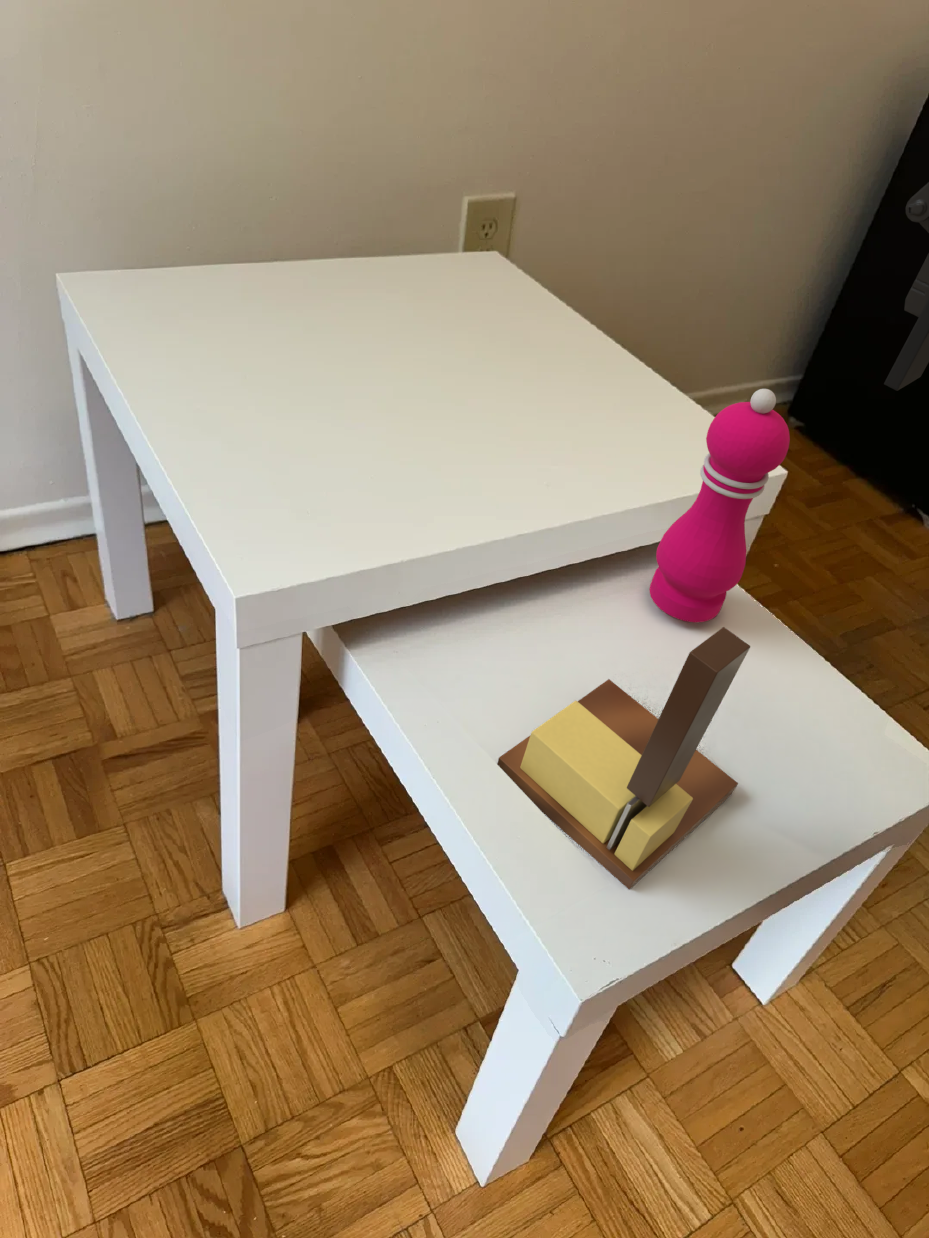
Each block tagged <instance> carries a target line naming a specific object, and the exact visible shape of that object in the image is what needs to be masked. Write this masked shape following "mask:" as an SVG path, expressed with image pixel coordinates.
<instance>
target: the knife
mask: <svg viewBox="0 0 929 1238" xmlns="http://www.w3.org/2000/svg"><path fill="white" fill-rule="evenodd" d="M750 649H751V645H750V644H748V643H747V642H745V641H744V640H743V639H742V638H740V637H739V636H737V635H735V634H734V632H732V631H731V630H729V629H728V628H726V627H725V626H723V627H721V628H720V629H719V630H717V631H716V632H715V633H713V634H712V635H711V636H709V637H708V638H707V639H705V640H704V641H703V642H701V643H700V644H698V645H697V646H696V647H695V648H693V649H692V650H690V651H689V653H688V655H687V657H686V659H685V662H684V664H683V665H682V668H681V670H680V672H679V674H678V677H677V678H676V680H675V683H674V685H673V687H672V689H671V691H670V693H669V696H668V697H667V700H666V702H665V704H664V706H663V709H662V711H661V713H660V714H659V717H658V721H657V723H656V726H655V728H654V730H653V732H652V734H651V736H650V738H649V741H648V743H647V745H646V747H645V749H644V751H643V753H642V755H641V758H640V760H639V762H638V764H637V766H636V768H635V770H634V773H633V775H632V777H631V779H630V781H629V783H628V785H627V789H628V790H629V791H631V792H632V793H633V794H634V795H635V797H634V798H633V799H632V800H631V801H629V802H628V803H627V805H626V807H625V809H624V811H623V814H622V816H621V818H620V820H619V822H618V824H617V826H616V828H615V830H614V832H613V834H612V837H611V839H610V841H609V843H608V845H607V847H606V848H607V849H608V850H611V849H612V848H613V847H614V846H615V845H617V844H618V843H619V842H620V841H621V839H622V837H623V835H624V833H625V831H626V829H627V827H628V825H629V823H630V821H631V819H633V818H634V817H635V816H636V815H637V814H638V813H640V812H641V811H642V810H643V809H644V808H645V807H646V806H648V807H650V806H651V805H652V804H653V803H655V802H656V801H657V800H658V799H659V798H660V797H661V796H662V795H664V794H665V793H666V792H667V791H668V790H669V789H670V788H672V787H673V786H674V785H675V784H676V783H677V782H678V781H680V779H681V777H682V775H683V773H684V771H685V769H686V767H687V766H688V764H689V762H690V760H691V758H692V756H693V754H694V752H695V750H698V747H699V745H700V743H701V742H702V741H701V740H702V739H703V737H704V736H705V733H706V731H707V730H708V728H709V727H710V724H711V722H712V720H713V719H714V717H715V714H716V713H717V711H718V709H719V707H720V706H721V703H722V701H723V700H724V698H725V696H726V694H727V692H728V690H729V688H730V686H731V685H732V683H733V680H734V679H735V677H736V675H737V673H738V671H739V669H740V667H741V666H742V664H743V662H744V660H745V658H746V656H747V654H748V652H749V651H750Z"/></svg>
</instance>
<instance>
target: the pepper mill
mask: <svg viewBox="0 0 929 1238" xmlns="http://www.w3.org/2000/svg"><path fill="white" fill-rule="evenodd" d="M776 403H777V398H776V395H775V393H774V392H773V390H771V389H768V388H760V389H759V388H758V389H757V390H756V391H754V392H753V394H752V395H751V398H750V401H739V402H736V403H732V404H729V405H728V406H726V407H724V408H723V409H721V410H720V411H719V412H718V413H717V414H716V416H715V417H714V418H713V420H711V422H710V424H709V427H708V429H707V433H706V437H705V441H706V448H707V451H708V454H706V455H705V457H704V459H703V465H702V466H701V467H700V472H699V474H700V477H701V480H702V482H701V487H700V490H699V491H698V493H697V496H696V499H695V501H694V502H693V503H692V505H691V506H690V508H688V509H687V511H685V512H684V513H683V514H682V515H681V516H680V517H679V518H677V519H676V520H675V521H674V522H673V523H672V524H671V525H670V526H669V527H668V529H667V530H666V531H665V532H664V534H663V535H662V537H661V539H660V542H659V543H658V546H657V548H656V553H655V555H656V556H655V558H656V563H657V566H658V567H657V568H656V570H655V571H654V573H653V577H652V579H651V582H650V585H649V595H650V598H651V600H652V602H653V603H654V604H655V605H656V606H657V608H658V609H659V610H660V611H662V612H663V613H665V614H667V615H668V616H670V617H673V618H674V619H678V620H680V621H683V622H687V623H688V622H689V623H705V622H707V621H708V622H709V621H710V620H713V619H714V618H716V617H717V616H718V614H720V613H721V610H722V607H723V605H724V603H725V600H726V598H727V592H729V591H730V590H732V589H733V588H734V587H735V586H737V585H738V583H739V582H740V581H741V578H742V577H743V574H744V570H745V568H746V562H747V561H746V560H747V541H746V527H745V526H746V525H745V524H746V523H745V522H746V516H747V513H748V510H749V507H750V505H751V503H752V502H753V500H754V498H757V497H759V496H760V495H762V493H764V491H765V485H766V484H767V483H768V481H769V477H770V476H769V473H770V472H772V471H775V470H776V469H777V468H778V467H779V466H780V465H781V464H782V463H783V462H784V460H785V458H786V457H787V455H788V451H789V447H790V441H791V438H790V437H791V436H790V429H789V427H788V424H787V423H786V421H785V419H784V417H782V415H780V414H779V413H778V412H777V411H776V410H775V409H774V408H775V406H776V405H777V404H776Z"/></svg>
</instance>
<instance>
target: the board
mask: <svg viewBox="0 0 929 1238" xmlns="http://www.w3.org/2000/svg"><path fill="white" fill-rule="evenodd" d="M576 701H577V702H579V703H580V704H581V705H582V706H583V707H585V708H586V709H587V710H588V711H589V712H591V713H592V714H593V715H594V716H595V717H597V718H598V719H599V720H600V721H601V722H603V723H604V724H605V725H606V726H607V727H609V728H610V729H611V730H612V731H613V732H614V733H616V734H617V735H618V736H619V737H620V738H622V739H623V740H624V741H625V742H626V743H628V744H629V745H630V746H631V747H632V748H634V749H635V750H636V751H637V752H638V753H640V754H641V755H642V753H643V751H644V749H645V747H646V745H647V743H648V741H649V738H650V736H651V734H652V732H653V730H654V728H655V726H656V723H657V721H658V719H659V717H657V716H655V715H654V714H653V713H652V712H651V711H649V710H648V709H647V708H646V707H644V706H643V705H642V704H641V703H639V702H638V701H637V700H636V699H635V698H633V696H631V695H629V694H628V693H627V692H626V691H625V690H624V689H622V688H621V687H620V686H619V685H617V684H616V683H615V682H613V681H612V680H611V679H609V678H608V679H607V680H605V681H604V682H603V683H600V685H598V686H597V687H595V688H594V689H593V690H591V691H590V692H589V693H587V694H586V695H584V696H583V697H582V698H580V699H578V700H576ZM529 739H530V735H529V736H527V737H526V738H524V739H523V740H521V741H520V742H519V743H517V744H516V745H515V746H513V747H512V748H510V749H508V750H507V751H506V752H505V753H503V754H502V755H501V756H499V757H498V759H497V763H496V765H497V766H498V767H499V768H500V769H501V770H502V771H503V772H504V773H505V775H507V777H508V778H509V779H510V780H511V781H512V782H513V783H514V784H515V785H516V786H517V787H518V788H519V790H521V792H523V794H524V795H525V796H526V797H527V798H528V799H529V800H530V801H531V803H533V804H534V806H536V807H537V809H538V810H539V811H540V812H542V813H543V814H544V816H546V817H547V818H548V819H549V820H550V821H552V823H554V824H555V825H556V826H557V827H558V828H559V829H560V830H562V831H563V832H564V833H565V834H566V835H567V836H568V837H569V838H571V839H572V841H574V842H575V843H576V844H577V845H578V846H579V847H580V848H582V849H583V850H584V851H585V852H586V853H587V854H588V855H590V857H592V858H593V859H594V860H595V861H596V862H597V863H599V864H600V866H602V867H603V868H604V869H605V870H606V871H608V873H610V874H611V875H612V876H613V877H614V878H615V879H616V880H618V881H619V883H620V884H622V885H623V886H624V887H626V888H627V889H628V890H631V889H632V888H633V887H634V886H635V885H636V884H637V883H639V881H640V880H641V879H643V878H644V877H645V876H646V875H648V873H650V871H652V869H653V868H655V866H657V864H659V863H660V862H661V861H662V860H663V859H664V858H665V857H666V856H667V855H668V854H670V852H672V851H673V850H674V848H676V847H677V846H678V845H679V844H681V842H682V841H684V839H686V838H687V837H688V836H689V835H690V834H691V833H692V832H693V831H694V830H695V829H697V828H698V826H700V825H701V824H703V822H704V821H705V820H706V819H707V818H708V817H709V816H710V815H711V814H712V813H714V812H715V811H716V810H717V809H718V808H719V807H720V806H721V805H722V804H723V803H724V802H725V801H726V800H727V799H729V798H730V797H731V796H732V795H733V793H734V792H735V790H736V788H737V787H738V785H739V783H738V782H737V781H736V780H735V779H734V778H732V777H731V776H730V775H729V774H727V773H726V772H725V771H724V770H722V769H721V768H720V767H719V766H717V765H716V763H714V762H712V761H711V760H710V759H709V758H708V757H706V756H705V755H704V754H702V752H701V751H699V750H698V749H696V750H695V752H694V754H693V756H692V758H691V760H690V762H689V764H688V766H687V767H686V769H685V771H684V773H683V775H682V777H681V779H680V781H678V782H677V783H676V784H677V785H678V786H679V787H680V788H682V789H683V790H684V791H685V792H686V793H688V794H689V795H690V796H691V797H692V798H693V800H692V802H691V803H690V805H689V807H688V809H687V810H686V812H685V814H684V816H683V818H682V819H681V821H680V823H679V825H678V826H677V828H676V830H675V832H674V833H673V834H672V835H671V836H670V837H669V838H668V839H667V840H666V841H665V842H663V843H662V844H661V845H660V846H659V847H658V848H657V849H656V850H655V851H654V852H653V853H652V854H650V855H649V856H648V857H647V858H646V859H645V860H644V861H643V862H642V863H641V864H640V865H639V866H637V867H636V868H635V869H634V870H633V871H632V870H631V869H630V868H629V867H628V866H626V865H625V864H624V863H623V862H622V861H621V860H620V859H619V858H618V857H617V856H615V852H616V850H617V848H618V846H619V844H620V842H619V843H618V844H617V845H615V846H614V847H613V848H612V849H611V850H608V849H607V848H606V847H607V845H608V843H609V841H610V839H611V838H610V839H609V840H607V841H606V842H605V843H604V844H603V843H602V842H601V841H599V840H598V839H597V838H596V837H595V836H594V835H593V834H592V833H591V832H590V831H589V830H587V829H586V828H585V827H584V826H583V825H582V824H581V823H580V822H579V821H578V820H576V819H575V818H574V817H573V816H572V815H571V814H570V813H569V812H568V811H567V810H566V809H564V808H563V807H562V806H561V805H560V804H559V803H558V802H557V801H556V800H555V799H554V798H552V797H551V796H550V795H549V794H548V793H547V792H546V791H545V790H544V789H543V788H541V787H540V786H539V785H538V784H537V783H536V782H535V781H534V780H533V779H532V778H531V777H529V776H528V775H527V774H526V773H525V772H524V771H523V770H522V769H521V768H520V767H521V763H522V760H523V757H524V754H525V751H526V748H527V745H528V742H529Z"/></svg>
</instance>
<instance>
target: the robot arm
mask: <svg viewBox="0 0 929 1238" xmlns="http://www.w3.org/2000/svg"><path fill="white" fill-rule="evenodd" d="M905 215H906V218H907V219H909V220H910V221H911V222H913V223H918V224H919V225H920V226H921V227H922V228H923V229H924V230H925V231H926V232H927V233H928V234H929V181H928V182H927V183H926V184H925V185H924V186H922V187H921V188H920V189H919V190H918V191H917V192H916V193H914V195H912V196H911V197H910V198H909V200H908V201H907V203H906V206H905ZM904 311H905V312H906V313H908V314H911V315H913V316H915V317H917V320H916V322H915V323H914V326H912V330H911V331H910V333H909V335H908V337H907V339H906V341H905V342H904V345H903V347H901V350H900V352H899V353H898V356H897V358H896V360H895V362H894V363H893V365H892V367H891V368H890V371H889V373H888V375H887V377H886V379H885V380H884V383H883V385H885V386H887V387H888V388H889V389H890V388H891V389H892V390H894V391H896V392H897V391H900V390H901V389H903V388H905V387H906V386H908V385H909V384H911V383H913V382H915V381H916V380H917V379H919V378H921V377H922V375H923V373H924V371H925V369H926V368H927V366H928V364H929V252H928V254H927V255H926V258H925V260H924V262H923V264H922V266H921V268H920V270H919V271H918V273H917V275H916V277H915V279H914V281H913V283H912V285H911V288H910V289H909V291H908V293H907V295H906V297H905V299H904Z"/></svg>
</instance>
